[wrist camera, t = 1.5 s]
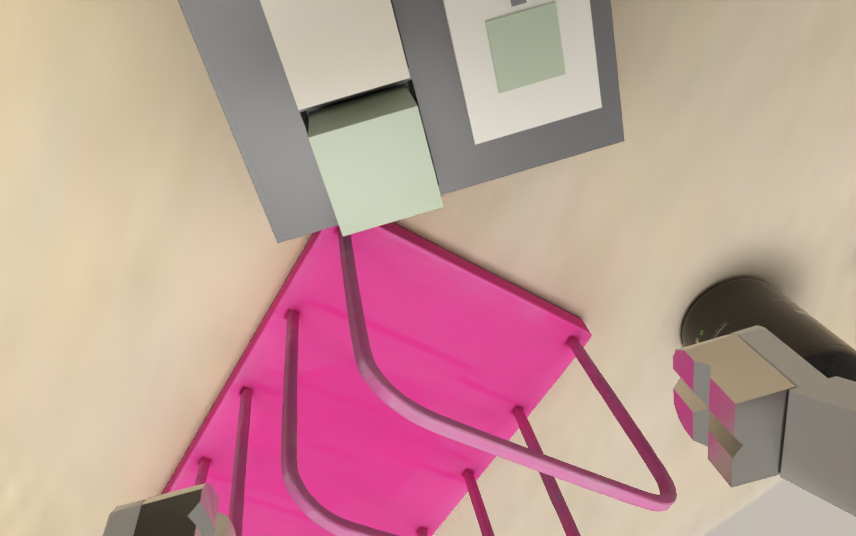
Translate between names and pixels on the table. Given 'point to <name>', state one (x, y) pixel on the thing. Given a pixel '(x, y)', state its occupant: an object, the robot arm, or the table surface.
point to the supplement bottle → (768, 324)
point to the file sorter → (392, 395)
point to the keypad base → (425, 93)
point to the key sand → (335, 46)
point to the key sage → (374, 159)
